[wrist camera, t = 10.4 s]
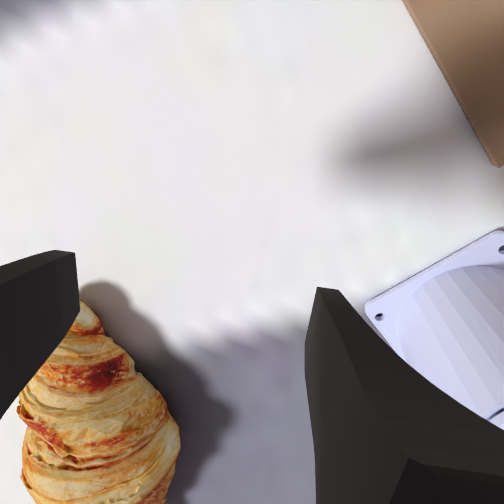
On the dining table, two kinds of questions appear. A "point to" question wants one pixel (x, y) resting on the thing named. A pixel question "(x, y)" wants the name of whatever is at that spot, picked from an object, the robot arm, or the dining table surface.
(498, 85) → the board
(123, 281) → the dining table surface
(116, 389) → the croissant
